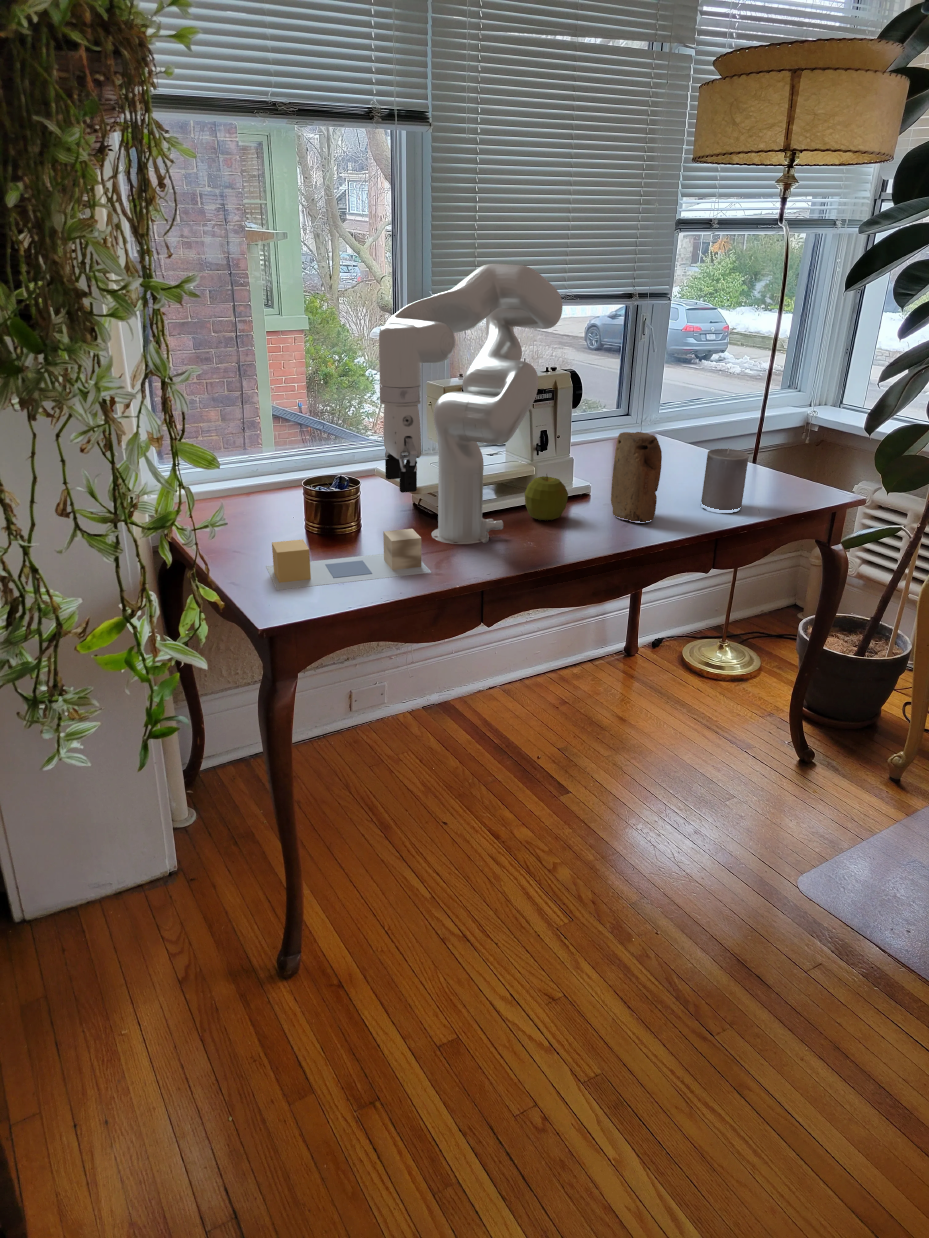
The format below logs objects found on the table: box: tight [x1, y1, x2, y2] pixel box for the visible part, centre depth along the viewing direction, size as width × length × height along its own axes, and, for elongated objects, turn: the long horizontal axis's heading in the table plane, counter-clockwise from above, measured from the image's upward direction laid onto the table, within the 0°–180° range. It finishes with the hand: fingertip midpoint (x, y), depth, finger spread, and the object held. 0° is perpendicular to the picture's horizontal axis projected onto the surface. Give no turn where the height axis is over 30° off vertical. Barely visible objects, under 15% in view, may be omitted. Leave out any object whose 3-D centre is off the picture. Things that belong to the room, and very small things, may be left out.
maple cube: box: [382, 528, 422, 570], centre depth 183 cm, size 6×6×6 cm
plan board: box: [265, 553, 433, 591], centre depth 180 cm, size 30×13×1 cm, turn 110°
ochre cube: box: [271, 538, 311, 583], centre depth 176 cm, size 6×6×6 cm
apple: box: [524, 473, 569, 522], centre depth 214 cm, size 10×10×11 cm
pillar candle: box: [700, 447, 750, 510], centre depth 223 cm, size 10×10×15 cm
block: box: [610, 431, 663, 522], centre depth 213 cm, size 11×8×20 cm
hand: (400, 485), depth 177 cm, fingers open, 9 cm apart
